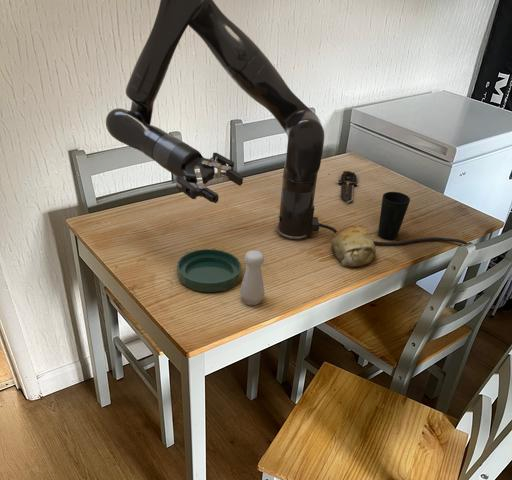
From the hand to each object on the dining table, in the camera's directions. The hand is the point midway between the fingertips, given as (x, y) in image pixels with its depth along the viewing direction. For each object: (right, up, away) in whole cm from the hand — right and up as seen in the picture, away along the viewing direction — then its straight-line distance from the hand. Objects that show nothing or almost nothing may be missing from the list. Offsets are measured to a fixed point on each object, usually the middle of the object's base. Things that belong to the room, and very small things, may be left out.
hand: (229, 190), depth 121 cm
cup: (+45, -3, +37) cm, 58 cm away
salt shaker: (+5, -24, +8) cm, 26 cm away
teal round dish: (-6, -17, +15) cm, 24 cm away
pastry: (+32, -10, +27) cm, 44 cm away
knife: (+37, +18, +62) cm, 74 cm away
